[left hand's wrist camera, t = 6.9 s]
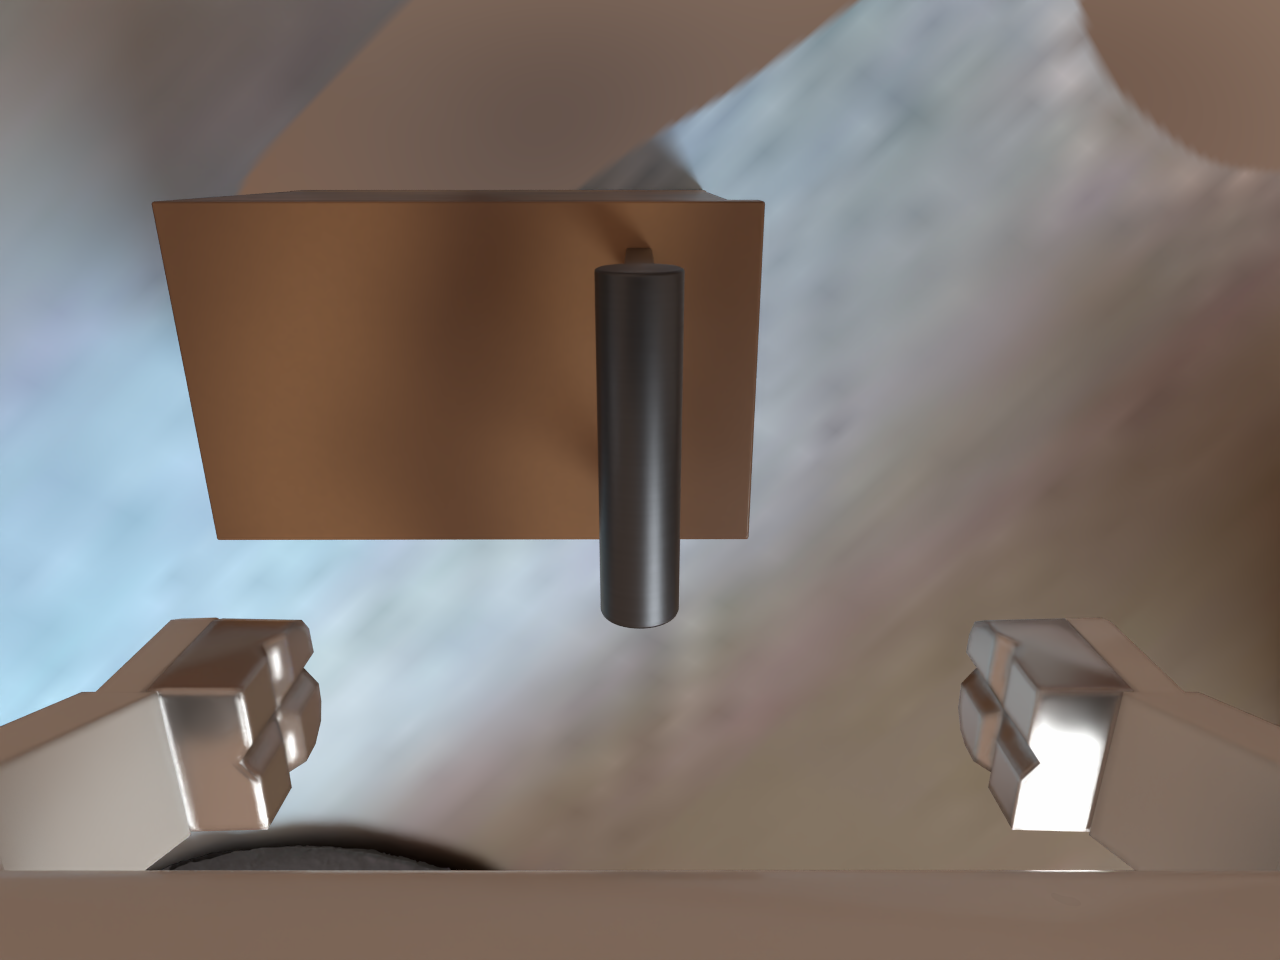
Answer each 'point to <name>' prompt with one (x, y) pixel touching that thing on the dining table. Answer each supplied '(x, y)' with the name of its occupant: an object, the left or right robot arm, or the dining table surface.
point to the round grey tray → (302, 860)
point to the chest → (477, 195)
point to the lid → (475, 372)
